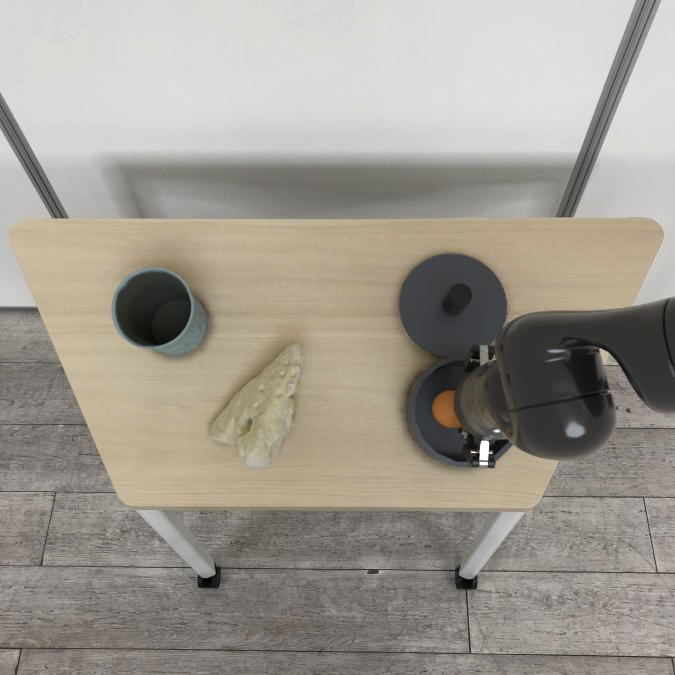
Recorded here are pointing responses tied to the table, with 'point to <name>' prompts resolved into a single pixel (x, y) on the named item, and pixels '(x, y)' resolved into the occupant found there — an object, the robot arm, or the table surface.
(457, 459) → the pot
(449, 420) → the bread
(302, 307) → the table surface
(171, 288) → the blue cup
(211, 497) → the table surface
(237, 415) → the cream rock
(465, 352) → the lid
